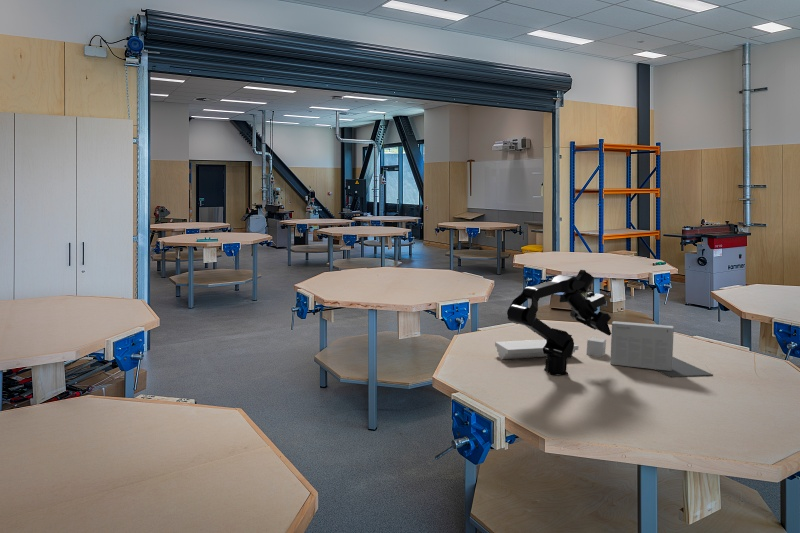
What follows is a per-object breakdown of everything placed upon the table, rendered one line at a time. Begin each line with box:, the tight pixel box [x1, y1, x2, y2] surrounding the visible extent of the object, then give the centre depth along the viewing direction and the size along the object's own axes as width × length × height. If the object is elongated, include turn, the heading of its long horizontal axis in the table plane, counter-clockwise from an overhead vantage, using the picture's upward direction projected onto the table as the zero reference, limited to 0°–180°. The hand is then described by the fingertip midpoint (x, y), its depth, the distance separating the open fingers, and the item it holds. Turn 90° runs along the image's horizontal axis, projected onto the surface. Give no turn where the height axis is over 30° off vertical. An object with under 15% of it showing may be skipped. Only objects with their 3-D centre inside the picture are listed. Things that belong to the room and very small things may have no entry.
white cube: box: [586, 336, 607, 358], centre depth 227 cm, size 6×6×6 cm
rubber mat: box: [654, 356, 714, 378], centre depth 213 cm, size 17×25×1 cm
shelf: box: [494, 338, 579, 360], centre depth 221 cm, size 12×30×5 cm, turn 105°
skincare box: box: [610, 320, 675, 371], centre depth 210 cm, size 21×6×16 cm, turn 65°
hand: (602, 331), depth 207 cm, fingers open, 9 cm apart
